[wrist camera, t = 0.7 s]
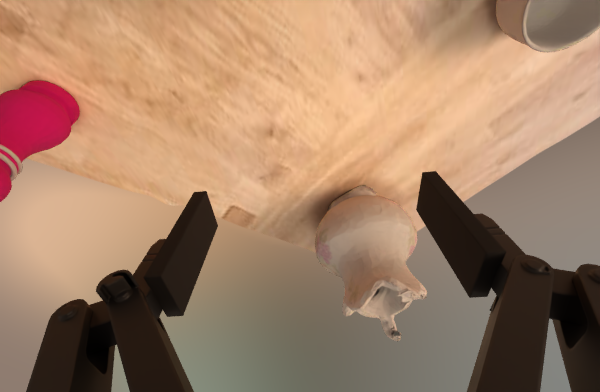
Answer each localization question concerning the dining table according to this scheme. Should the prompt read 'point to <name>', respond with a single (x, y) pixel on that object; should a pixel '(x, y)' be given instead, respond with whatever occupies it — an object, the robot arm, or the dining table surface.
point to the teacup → (548, 22)
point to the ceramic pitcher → (370, 255)
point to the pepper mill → (32, 125)
